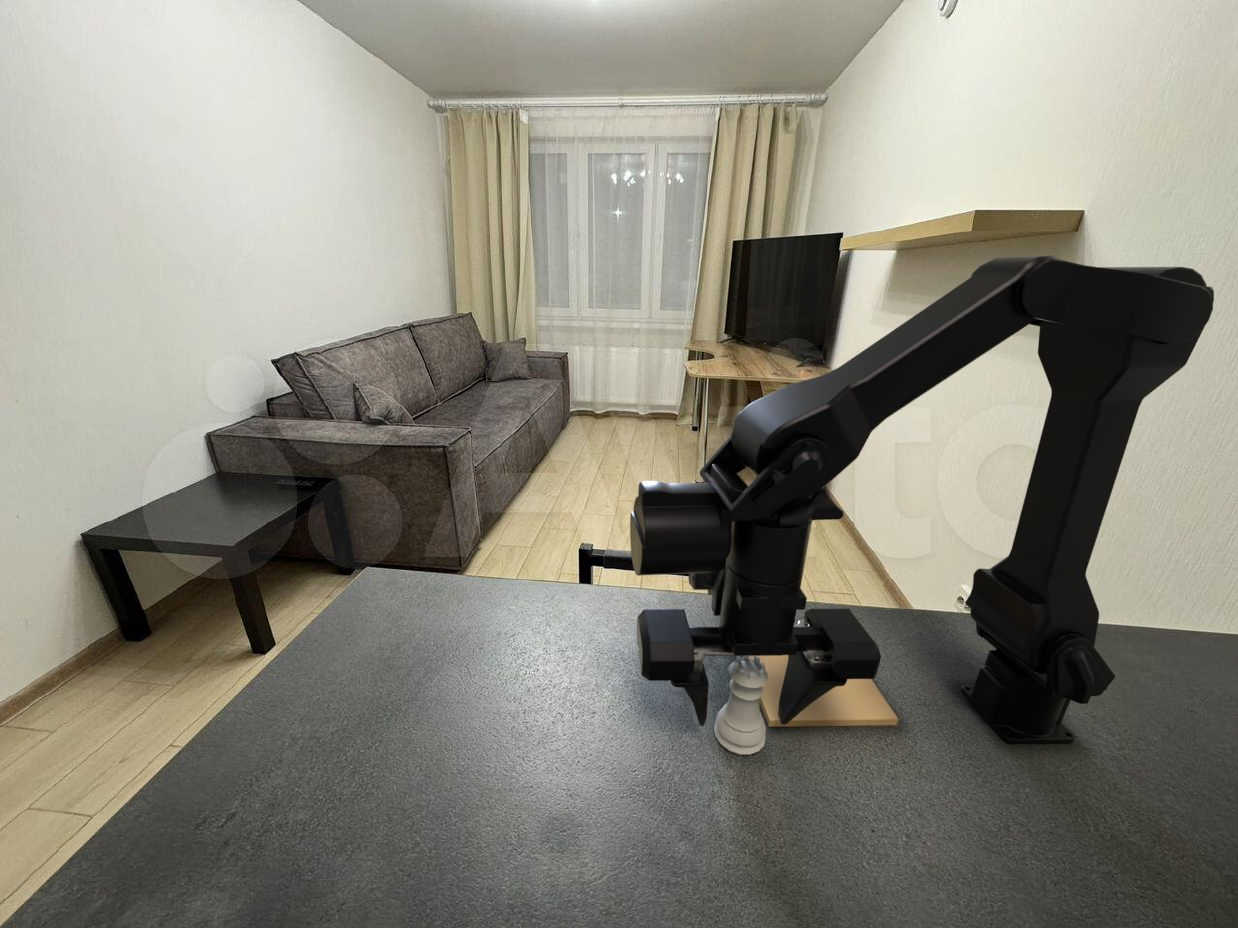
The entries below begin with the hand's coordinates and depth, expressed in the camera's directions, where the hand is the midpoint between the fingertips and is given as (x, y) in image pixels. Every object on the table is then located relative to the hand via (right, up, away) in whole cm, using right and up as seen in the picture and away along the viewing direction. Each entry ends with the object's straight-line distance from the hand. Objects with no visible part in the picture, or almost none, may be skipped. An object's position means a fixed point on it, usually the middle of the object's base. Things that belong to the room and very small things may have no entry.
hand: (741, 720), depth 46 cm
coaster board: (+9, 0, +7) cm, 11 cm away
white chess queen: (0, -2, +1) cm, 2 cm away
